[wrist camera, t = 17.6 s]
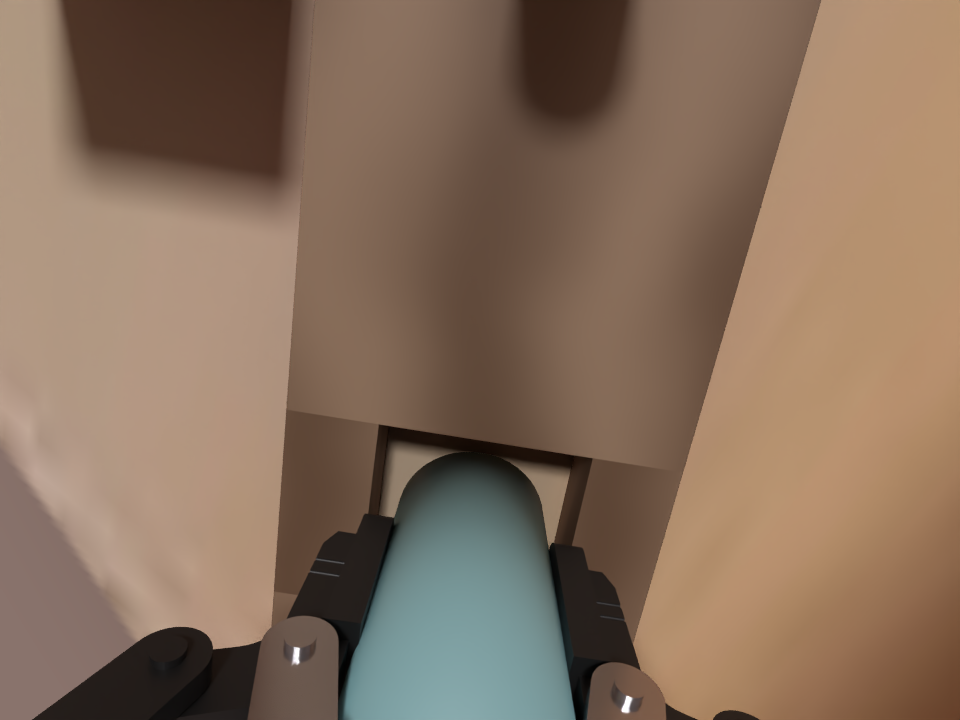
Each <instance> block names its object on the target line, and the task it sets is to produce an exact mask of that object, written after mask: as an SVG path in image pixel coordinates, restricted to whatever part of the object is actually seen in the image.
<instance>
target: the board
mask: <svg viewBox="0 0 960 720" xmlns="http://www.w3.org/2000/svg"><path fill="white" fill-rule="evenodd" d="M820 3H821V0H315V3H314V18H313V32H312V47H311V61H310V76H309V90H308V105H307V119H306V134H305V148H304V163H303V177H302V192H301V206H300V221H299V235H298V250H297V264H296V279H295V293H294V308H293V322H292V337H291V351H290V366H289V380H288V395H287V409H286V424H285V438H284V453H283V467H282V482H281V496H280V511H279V525H278V540H277V554H276V569H275V583H274V598H273V612H272V626H274V625H275V624H277V623H278V622H280V621H282V620H285V619H286V618H287V616H288V614H289V612H290V610H291V608H292V606H293V604H294V602H295V600H296V598H297V596H298V594H299V592H300V590H301V588H302V586H303V583H304V581H305V579H306V577H307V575H308V573H310V569H311V567H312V565H313V563H314V561H315V560H316V557H317V555H318V553H319V551H320V548H321V546H322V544H323V542H325V541H326V540H327V539H329V538H330V537H331V536H333V535H334V534H335V533H336V532H338V531H342V532H348V533H355V534H356V533H357V530H358V528H359V525H360V523H361V520H362V518H363V515H364V514H365V513H366V514H373V515H378V509H379V501H380V493H381V485H382V478H383V470H384V462H385V454H386V446H387V438H388V430H389V426H393V427H399V428H405V429H412V430H418V431H424V432H431V433H437V434H443V435H450V436H456V437H462V438H468V439H475V440H481V441H487V442H494V443H500V444H506V445H513V446H519V447H525V448H532V449H538V450H544V451H550V452H557V453H563V454H569V455H574V460H573V464H572V468H571V473H570V477H569V481H568V486H567V490H566V494H565V499H564V503H563V508H562V512H561V516H560V521H559V525H558V529H557V534H556V538H555V542H554V543H557V544H564V545H570V546H576V547H582V548H583V550H584V553H585V557H586V561H587V565H588V569H589V570H592V571H598V572H603V574H604V575H605V576H606V577H607V578H608V580H609V581H610V582H611V583H612V584H613V586H614V587H615V588H616V592H617V595H618V598H619V601H620V608H622V611H623V614H624V618H625V622H626V624H627V627H628V631H629V634H630V637H631V640H632V644H633V642H634V638H635V635H636V631H637V628H638V625H639V621H640V618H641V614H642V611H643V608H644V604H645V601H646V597H647V594H648V590H649V587H650V584H651V580H652V577H653V573H654V570H655V567H656V563H657V560H658V556H659V553H660V549H661V546H662V543H663V539H664V536H665V532H666V529H667V526H668V522H669V519H670V515H671V512H672V508H673V505H674V502H675V498H676V495H677V491H678V488H679V484H680V481H681V478H682V474H683V471H684V467H685V464H686V461H687V457H688V454H689V450H690V447H691V443H692V440H693V437H694V433H695V430H696V426H697V423H698V420H699V416H700V413H701V409H702V406H703V402H704V399H705V396H706V392H707V389H708V385H709V382H710V379H711V375H712V372H713V368H714V365H715V361H716V358H717V355H718V351H719V348H720V344H721V341H722V338H723V334H724V331H725V327H726V324H727V320H728V317H729V314H730V310H731V307H732V303H733V300H734V297H735V293H736V290H737V286H738V283H739V279H740V276H741V273H742V269H743V266H744V262H745V259H746V256H747V252H748V249H749V245H750V242H751V238H752V235H753V232H754V228H755V225H756V221H757V218H758V215H759V211H760V208H761V204H762V201H763V197H764V194H765V191H766V187H767V184H768V180H769V177H770V174H771V170H772V167H773V163H774V160H775V156H776V153H777V150H778V146H779V143H780V139H781V136H782V133H783V129H784V126H785V122H786V119H787V115H788V112H789V109H790V105H791V102H792V98H793V95H794V92H795V88H796V85H797V81H798V78H799V74H800V71H801V68H802V64H803V61H804V57H805V54H806V50H807V47H808V44H809V40H810V37H811V33H812V30H813V27H814V23H815V20H816V16H817V13H818V9H819V6H820Z"/></svg>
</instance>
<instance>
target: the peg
mask: <svg viewBox="0 0 960 720" xmlns="http://www.w3.org/2000/svg"><path fill="white" fill-rule="evenodd" d="M338 720H576V719H575V713H574V707H573V700H572V694H571V688H570V681H569V675H568V669H567V662H566V656H565V650H564V643H563V637H562V631H561V624H560V618H559V612H558V605H557V599H556V593H555V586H554V580H553V574H552V568H551V561H550V555H549V549H548V542H547V536H546V530H545V523H544V517H543V511H542V504H541V501H540V498H539V495H538V493H537V491H536V489H535V487H534V485H533V484H532V482H531V481H530V480H529V479H528V477H527V476H526V475H525V474H524V473H523V472H522V471H521V470H519V469H518V468H517V467H516V466H514V465H513V464H511V463H510V462H508V461H506V460H504V459H502V458H499V457H496V456H494V455H490V454H486V453H480V452H458V453H452V454H448V455H445V456H442V457H439V458H437V459H435V460H433V461H431V462H429V463H428V464H426V465H425V466H423V467H422V468H421V469H419V470H418V471H417V472H416V473H415V474H414V475H413V476H412V478H411V479H410V480H409V482H408V483H407V485H406V487H405V488H404V490H403V493H402V495H401V498H400V501H399V504H398V508H397V511H396V514H395V518H394V527H393V531H392V534H391V537H390V541H389V544H388V548H387V551H386V554H385V558H384V561H383V564H382V568H381V571H380V574H379V578H378V581H377V584H376V588H375V591H374V594H373V598H372V601H371V604H370V608H369V611H368V614H367V618H366V621H365V624H364V628H363V631H362V634H361V638H360V641H359V644H358V646H357V647H356V649H355V651H354V654H353V656H352V659H351V661H350V665H349V668H348V671H347V674H346V678H345V681H344V684H343V687H342V691H341V694H340V697H339V700H338Z"/></svg>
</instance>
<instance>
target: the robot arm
mask: <svg viewBox="0 0 960 720" xmlns="http://www.w3.org/2000/svg"><path fill="white" fill-rule="evenodd" d="M393 527H394V518H392V517H386V516H379V515H373V514H366V513H365V514H364V515H363V518H362V520H361V523H360V525H359V528H358V530H357V533H356V534H355V533H348V532H342V531H338V532H336V533H335V534H334V535H333V536H331V537H330V538H329V539H327V540H326V541H325V542H323V544H322V546H321V548H320V551H319V553H318V555H317V557H316V560H315V561H314V563H313V565H312V567H311V569H310V573H308V575H307V577H306V579H305V581H304V583H303V586H302V588H301V590H300V592H299V594H298V596H297V598H296V600H295V602H294V604H293V606H292V608H291V610H290V612H289V614H288V616H287V618H286V619H285V620H282V621H280V622H278V623H277V624H275V625H274V626H272V627H271V628H270V629H269V630H268V631H267V632H266V634H265V635H264V637H263V639H262V641H259V642H256V643H254V644H250V645H246V646H240V647H232V648H223V649H214V650H213V646H212V642H211V640H210V638H209V637H208V636H207V635H206V634H205V633H203V632H202V631H200V630H197V629H194V628H189V627H173V628H167V629H163V630H160V631H157V632H154V633H152V634H150V635H148V636H146V637H144V638H143V639H141V640H140V641H138V642H137V643H135V644H134V645H133V646H131V647H130V648H129V649H127V650H126V651H125V652H123V653H122V654H121V655H119V656H118V657H117V658H115V659H114V660H112V661H111V662H110V663H108V664H107V665H106V666H104V667H103V668H102V669H100V670H99V671H98V672H96V673H95V674H93V675H92V676H91V677H89V678H88V679H87V680H85V681H84V682H83V683H81V684H80V685H79V686H77V687H76V688H75V689H73V690H72V691H70V692H69V693H68V694H66V695H65V696H64V697H62V698H61V699H60V700H58V701H57V702H56V703H54V704H53V705H52V706H50V707H49V708H47V709H46V710H45V711H43V712H42V713H41V714H39V715H38V716H37V717H35V718H34V719H32V720H338V700H339V697H340V694H341V691H342V687H343V684H344V681H345V678H346V674H347V671H348V668H349V665H350V661H351V659H352V656H353V654H354V651H355V649H356V647H357V646H358V644H359V641H360V638H361V634H362V631H363V628H364V624H365V621H366V618H367V614H368V611H369V608H370V604H371V601H372V598H373V594H374V591H375V588H376V584H377V581H378V578H379V574H380V571H381V568H382V564H383V561H384V558H385V554H386V551H387V548H388V544H389V541H390V537H391V534H392V531H393ZM549 555H550V561H551V568H552V574H553V580H554V586H555V593H556V599H557V605H558V612H559V618H560V624H561V631H562V637H563V643H564V650H565V656H566V662H567V669H568V675H569V681H570V688H571V694H572V700H573V707H574V713H575V719H576V720H697V719H695V718H692V717H690V716H688V715H685V714H683V713H681V712H679V711H677V710H675V709H673V708H672V707H670V706H668V705H667V704H666V703H665V699H664V696H663V694H662V692H661V690H660V688H659V687H658V686H657V684H656V683H655V682H654V681H653V680H652V679H651V678H650V677H649V676H648V675H646V674H645V673H644V672H642V671H641V670H640V666H639V663H638V660H637V657H636V653H635V650H634V647H633V644H632V640H631V637H630V634H629V631H628V627H627V624H626V622H625V618H624V614H623V611H622V608H620V601H619V598H618V595H617V592H616V588H615V587H614V586H613V584H612V583H611V582H610V581H609V580H608V578H607V577H606V576H605V575H604V574H603V572H598V571H592V570H589V569H588V565H587V561H586V557H585V553H584V550H583V548H582V547H576V546H570V545H564V544H557V543H552V544H551V546H550V549H549ZM713 720H759V719H758V718H756V717H754V716H751V715H749V714H746V713H744V712H740V711H733V710H728V711H723V712H720V713H718V714H717V715H716V716H715V717H714V718H713Z"/></svg>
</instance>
